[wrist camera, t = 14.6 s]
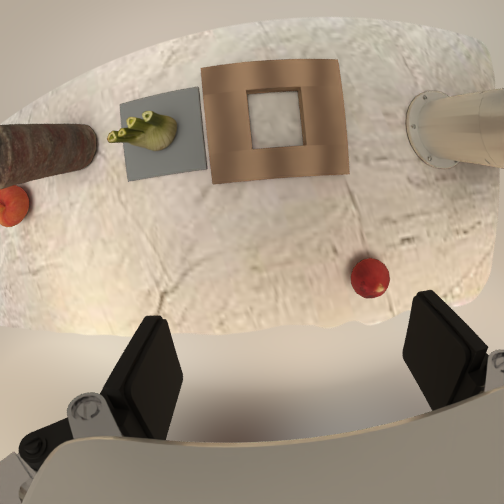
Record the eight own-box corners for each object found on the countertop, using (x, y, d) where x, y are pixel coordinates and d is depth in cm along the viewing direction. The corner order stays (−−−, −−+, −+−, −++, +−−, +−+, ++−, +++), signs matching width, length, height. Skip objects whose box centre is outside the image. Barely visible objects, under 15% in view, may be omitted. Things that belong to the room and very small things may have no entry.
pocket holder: (332, 65, 34) (337, 59, 31) (343, 172, 39) (349, 174, 36) (204, 73, 35) (200, 68, 32) (215, 182, 40) (212, 184, 37)
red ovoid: (365, 291, 45) (382, 316, 38) (338, 275, 44) (352, 299, 37) (385, 262, 43) (406, 283, 36) (359, 244, 43) (378, 264, 35)
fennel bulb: (182, 116, 36) (153, 104, 25) (180, 150, 38) (150, 151, 27) (143, 118, 36) (103, 109, 25) (142, 151, 38) (101, 153, 27)
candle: (108, 152, 39) (17, 162, 20) (77, 180, 40) (-13, 206, 21) (87, 115, 36) (-4, 107, 18) (58, 144, 38) (-32, 153, 19)
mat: (198, 87, 35) (197, 86, 35) (207, 169, 39) (206, 169, 39) (121, 104, 36) (119, 104, 36) (129, 181, 40) (128, 181, 39)
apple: (14, 219, 42) (-13, 230, 35) (12, 181, 40) (-17, 189, 32) (37, 221, 42) (9, 233, 35) (35, 181, 40) (6, 188, 32)
